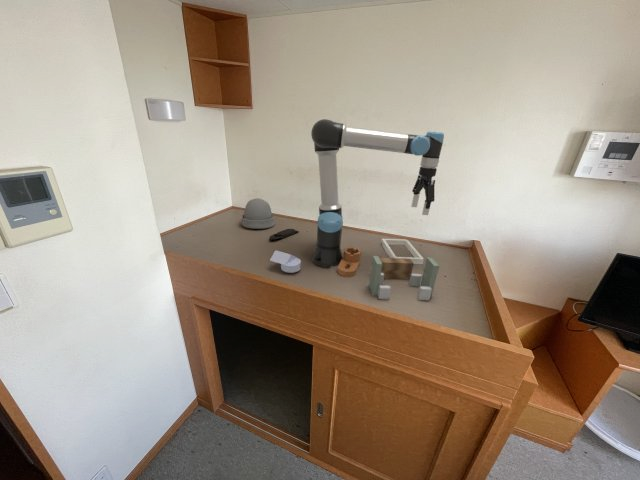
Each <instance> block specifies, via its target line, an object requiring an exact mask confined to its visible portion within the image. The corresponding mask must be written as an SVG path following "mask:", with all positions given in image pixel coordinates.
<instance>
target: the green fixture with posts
mask: <svg viewBox="0 0 640 480" xmlns="http://www.w3.org/2000/svg"><path fill="white" fill-rule="evenodd" d="M379 258H380V257H379V256H378V255H373V256H372V261H371V267H370V274H369V275H370V277H369V284H368V287H369V290H370V293H371V295H372V296H377V298H378V300H390V295H391V291H392V289H391V285H387V284H385V285H384V274H383V273H381V269H382V263H381V261H380V259H379ZM425 259H426V261H425V264H424V268H423V272H422V274H421V273H412V274H411V276H410V279H408V280H409V281H408V285H409V286H410V287H419V288H418V293H417V298H418V299H417V300H418V301H430V298H431V297H433V292H434V288H435V285H436V280H437V277H438V272H439V268H440V265H439V264H438V263H437V262H436V260H434V258H433V257H426V258H425Z"/></svg>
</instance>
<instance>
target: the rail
mask: <svg viewBox="0 0 640 480" xmlns="http://www.w3.org/2000/svg"><path fill="white" fill-rule="evenodd" d="M379 259H380V261H381V263H382V269H381V273H383V274H384V279H385V280H386V279H387V280H390V279H392V280H410V276H411V274H413V268H414V265H415V264H414V263H413V262H412V260H411V259H404V258H390V257H379Z"/></svg>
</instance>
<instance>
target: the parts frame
mask: <svg viewBox="0 0 640 480" xmlns="http://www.w3.org/2000/svg"><path fill="white" fill-rule="evenodd" d="M380 244H381V246H382V247H383V249H384V250H385V252H386V254H387V256H388V258H404V259H411V260H412V262H413V263H414V264H413V265H423V264H424V262H425V260H424V259H425V257H423V256H422V255H421V254H420V253H419V251H418V250H417V249H416V248H415V247H414V245H413V244H412V243H411V242H410V241H409V240H408V239H403V238H402V239H399V238H381V242H380ZM389 245H393V246H395V245H396V246H397V245H398V246H405V247H406V249H407V250H408V252H409V253H410V254H411V255H412V256H413V257H411V256H409V257H408V256H396V254H395V252H394V251H393V250H392V248H391V247H390V246H389Z"/></svg>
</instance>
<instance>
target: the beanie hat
mask: <svg viewBox="0 0 640 480" xmlns="http://www.w3.org/2000/svg"><path fill="white" fill-rule="evenodd" d="M275 225H276V222H275V218H274V214H273V213H272V208H271V206H270V204H269V203H268V201H266V200H264V199H262V198H260V197H259V198H257V197H256V198H253V199H250V200H248V201H247V203H246V204H245V207H244V211H243V214H242V215H241V226H243V228H247V229H252V230H253V229H259V230H260V229H261V230H262V229H269V228H272V227H274V226H275Z"/></svg>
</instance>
